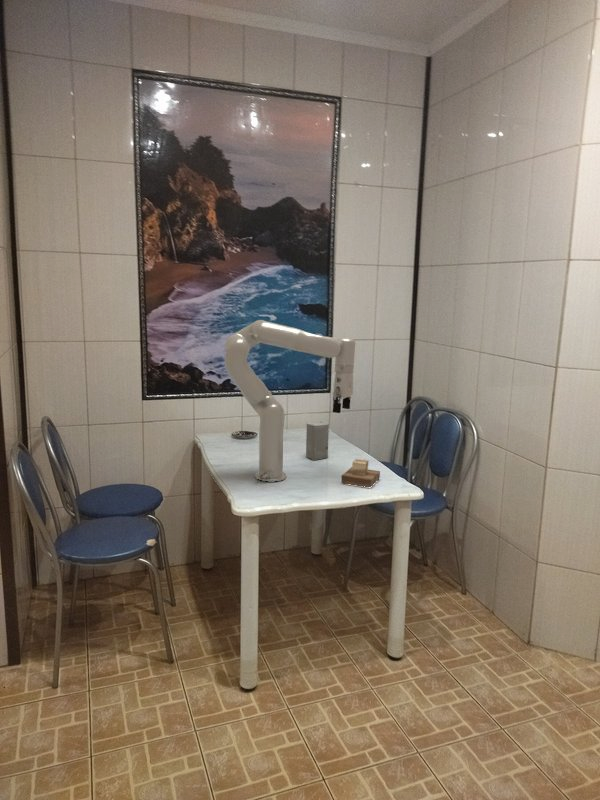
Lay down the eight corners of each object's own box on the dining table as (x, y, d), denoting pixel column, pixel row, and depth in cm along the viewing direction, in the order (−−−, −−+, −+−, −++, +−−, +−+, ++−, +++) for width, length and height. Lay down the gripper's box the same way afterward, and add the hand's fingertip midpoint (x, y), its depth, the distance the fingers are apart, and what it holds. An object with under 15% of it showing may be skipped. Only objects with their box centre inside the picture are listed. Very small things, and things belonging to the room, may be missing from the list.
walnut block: (370, 490, 228) (370, 480, 228) (341, 485, 233) (341, 475, 232) (379, 480, 239) (379, 471, 238) (351, 476, 244) (351, 466, 243)
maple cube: (364, 475, 232) (364, 463, 231) (352, 474, 234) (352, 462, 233) (367, 472, 237) (368, 460, 236) (356, 470, 239) (356, 458, 238)
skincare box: (313, 460, 262) (314, 426, 259) (304, 456, 268) (305, 422, 264) (329, 458, 266) (330, 424, 263) (319, 454, 272) (320, 420, 269)
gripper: (344, 372, 228) (341, 415, 231) (360, 367, 243) (357, 408, 246) (326, 370, 231) (324, 412, 234) (343, 365, 246) (341, 405, 249)
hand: (341, 410), depth 240 cm, fingers open, 9 cm apart
